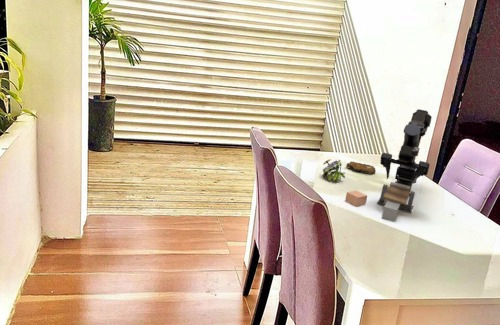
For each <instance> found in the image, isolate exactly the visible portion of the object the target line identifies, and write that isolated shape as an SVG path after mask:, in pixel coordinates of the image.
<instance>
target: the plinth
mask: <svg viewBox="0 0 500 325" xmlns="http://www.w3.org/2000/svg"><path fill="white" fill-rule="evenodd" d="M367 198H368V194H365V193H362V192H361V191H358V190H350V191H347V192H346V195H345V198H344V199H345V200H344V201H345V202H346V203H348V204H350V205H353V206H354V207H360V206H364V205H367V204H366V203H367Z"/></svg>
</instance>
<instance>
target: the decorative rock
mask: <svg viewBox="0 0 500 325" xmlns="http://www.w3.org/2000/svg"><path fill="white" fill-rule="evenodd" d="M346 167H347V169H350V170H351V169H352V170H355V172H359V173H360V172H363V173H365V174H368V175H376V168H375V166H374V165H371V164H366V163H361V162H355V161H350V162H348V163H347V164H346Z"/></svg>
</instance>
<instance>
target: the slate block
mask: <svg viewBox="0 0 500 325" xmlns="http://www.w3.org/2000/svg"><path fill="white" fill-rule="evenodd" d="M399 207H400V204H398V203H394V202H390V201H387V203H386V204H385V206H383V211H382V215H381V219H383V220H387V221H391V222H396V220H397V217H398V215H399V211H400V210H399Z"/></svg>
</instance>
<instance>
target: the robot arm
mask: <svg viewBox="0 0 500 325" xmlns="http://www.w3.org/2000/svg"><path fill="white" fill-rule="evenodd" d="M431 123H432V116H431V115H430V114H429V111H427V110H425V109H416V111H414V112H412V116H411V119H410V121H408V123H407V124H406V125H405V126H404V128H403V134H404V135H403V139H404V140H403V143H402V145H401V146H400V150H399V153H398V155H397V157H398V158H395V157H393V154H392V153H388V152H383V153H381V155H380V165H381V166H382V167H383V168H385V171H386V179H387V180H388V179H389V177H390V172H391V164H395V165H398V166H397V168H396V172H395V177H394V180H396V181H395V182H394V183H398V184H402V185H406V186H410V191H409V192H410V193H411V191H412V190H411V189H412V186H413V184H416V183H417V181H418V180H417V179H419V178H420V177H424V176H427V175H428V173H429V169H430V165H431V164H430V163H429V162H426V161H423V160H419V163H417V162H416V161H415V160H416V157H418V156H419V153H420V147H419V146H420V144H421V140H422V137H424V136H426V133H427V132H428V129H429V128H430V127H431ZM409 197H410V194H409Z"/></svg>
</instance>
